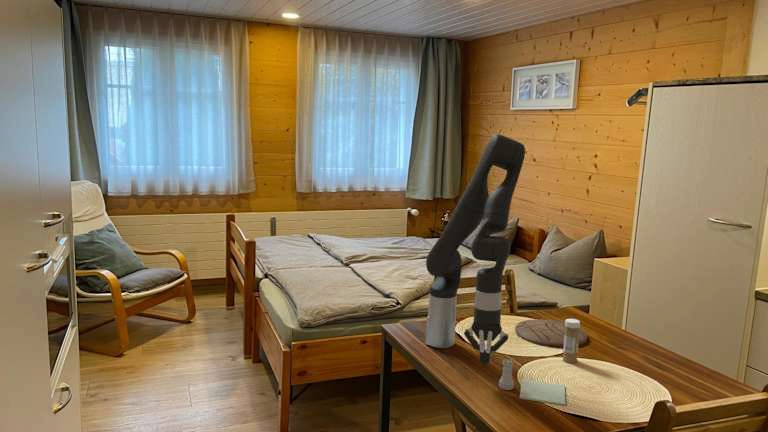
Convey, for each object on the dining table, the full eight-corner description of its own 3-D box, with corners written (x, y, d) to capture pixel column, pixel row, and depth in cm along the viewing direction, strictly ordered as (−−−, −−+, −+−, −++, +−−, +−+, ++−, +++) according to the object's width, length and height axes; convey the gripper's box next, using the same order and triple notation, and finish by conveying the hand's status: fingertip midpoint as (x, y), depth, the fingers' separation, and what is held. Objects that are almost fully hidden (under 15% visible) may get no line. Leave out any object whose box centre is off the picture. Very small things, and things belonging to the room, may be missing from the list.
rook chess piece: (496, 383, 169) (498, 357, 167) (511, 383, 169) (513, 357, 168) (500, 390, 164) (502, 363, 163) (516, 390, 165) (518, 363, 163)
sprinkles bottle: (579, 361, 187) (583, 321, 185) (570, 364, 184) (574, 323, 182) (568, 356, 191) (571, 317, 189) (559, 359, 188) (562, 319, 186)
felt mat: (519, 398, 160) (519, 396, 160) (521, 380, 171) (521, 379, 171) (565, 405, 157) (565, 403, 157) (564, 386, 168) (564, 385, 168)
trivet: (535, 350, 196) (535, 345, 196) (503, 325, 220) (503, 320, 220) (601, 346, 202) (601, 341, 202) (563, 322, 226) (563, 317, 226)
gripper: (462, 306, 163) (459, 365, 166) (510, 311, 160) (507, 372, 162) (466, 299, 170) (463, 356, 173) (512, 304, 167) (508, 362, 169)
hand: (484, 363), depth 168 cm, fingers closed
